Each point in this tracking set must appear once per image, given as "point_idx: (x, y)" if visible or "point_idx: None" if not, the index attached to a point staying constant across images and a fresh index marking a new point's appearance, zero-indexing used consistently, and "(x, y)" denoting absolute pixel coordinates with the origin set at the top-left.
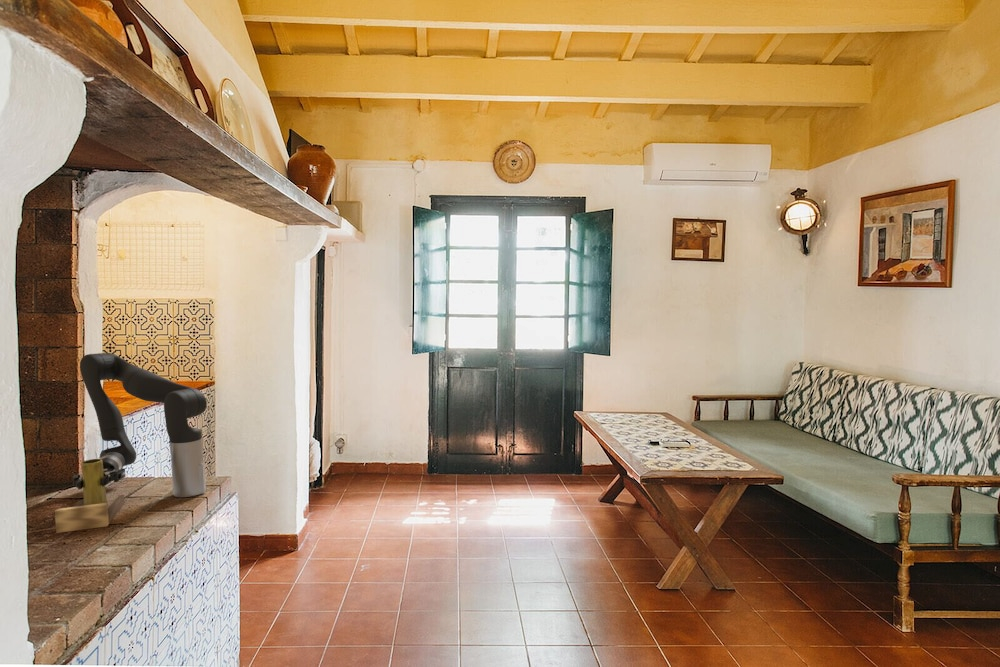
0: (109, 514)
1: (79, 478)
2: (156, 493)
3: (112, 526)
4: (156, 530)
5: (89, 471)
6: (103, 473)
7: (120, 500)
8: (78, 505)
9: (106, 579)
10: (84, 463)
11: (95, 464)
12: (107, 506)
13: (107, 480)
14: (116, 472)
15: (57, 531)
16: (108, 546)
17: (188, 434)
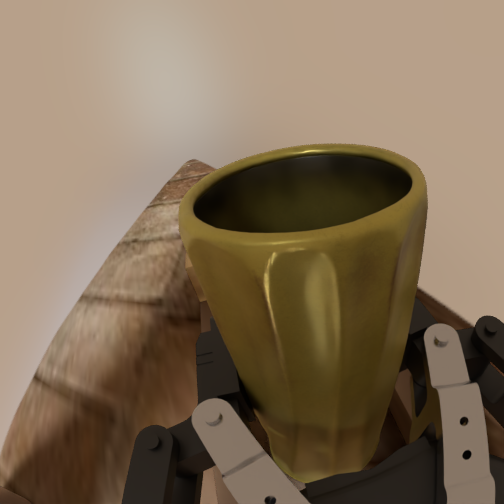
0: (201, 314)
1: (445, 325)
2: None
3: (193, 305)
4: (106, 281)
5: (292, 223)
6: (232, 357)
7: (217, 488)
8: (409, 410)
9: (165, 191)
10: (321, 144)
11: (231, 187)
12: (189, 277)
13: (199, 344)
14: (154, 480)
15: None
16: (177, 233)
17: None
